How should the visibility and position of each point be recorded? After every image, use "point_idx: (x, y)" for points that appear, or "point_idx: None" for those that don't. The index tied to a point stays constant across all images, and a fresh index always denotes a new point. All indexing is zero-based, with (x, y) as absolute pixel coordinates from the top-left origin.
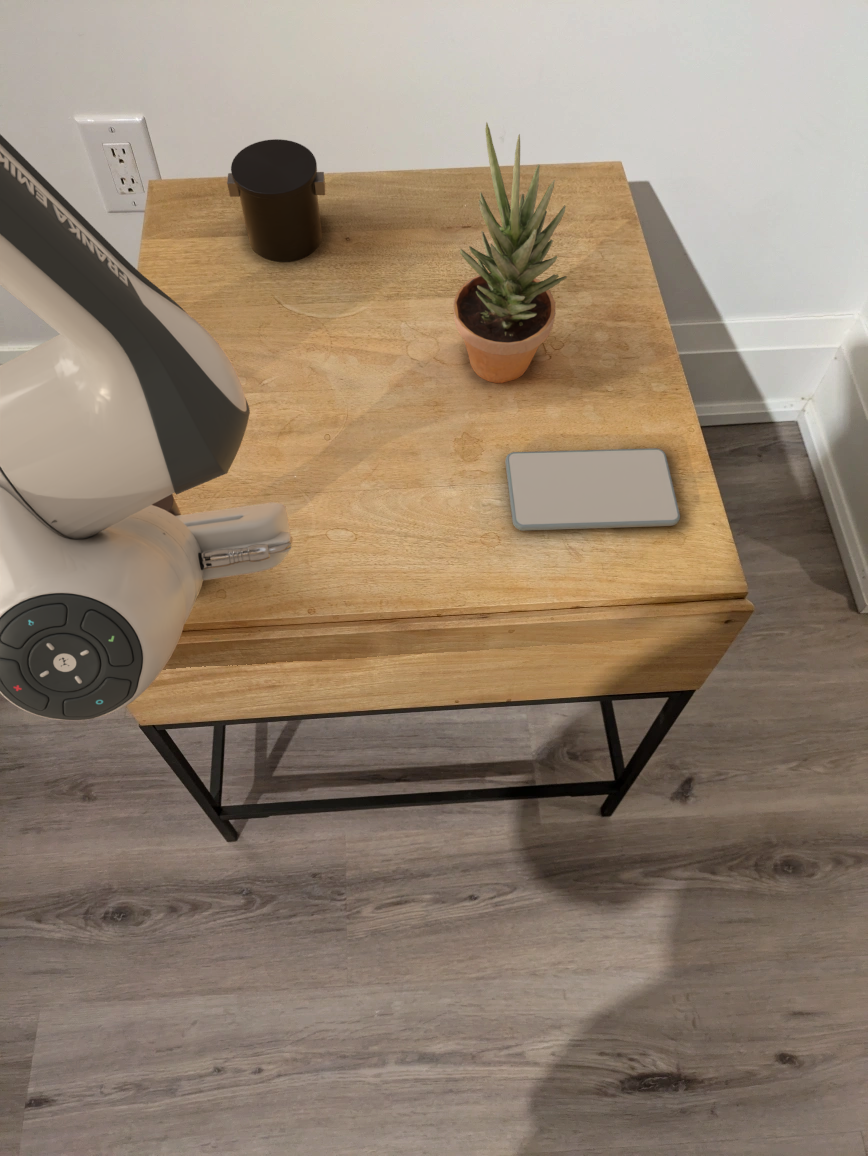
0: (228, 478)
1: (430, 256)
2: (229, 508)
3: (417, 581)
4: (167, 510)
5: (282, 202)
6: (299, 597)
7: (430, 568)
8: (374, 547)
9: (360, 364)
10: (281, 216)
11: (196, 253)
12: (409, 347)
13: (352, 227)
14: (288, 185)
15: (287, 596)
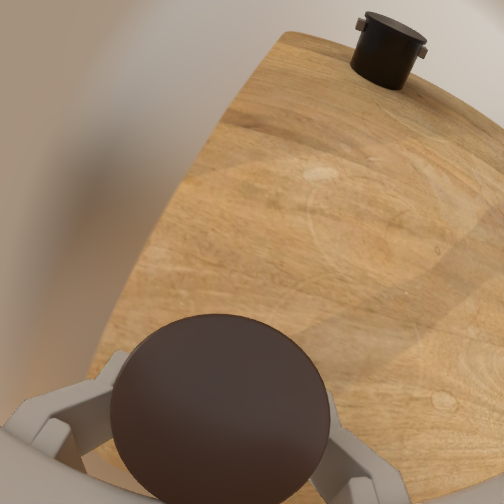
0: (320, 263)
1: (472, 134)
2: (501, 499)
3: (488, 468)
4: (291, 485)
5: (403, 42)
6: None
7: (499, 452)
8: (469, 423)
9: (453, 184)
10: (397, 51)
11: (309, 56)
12: (482, 190)
13: (420, 92)
14: (411, 35)
15: None
